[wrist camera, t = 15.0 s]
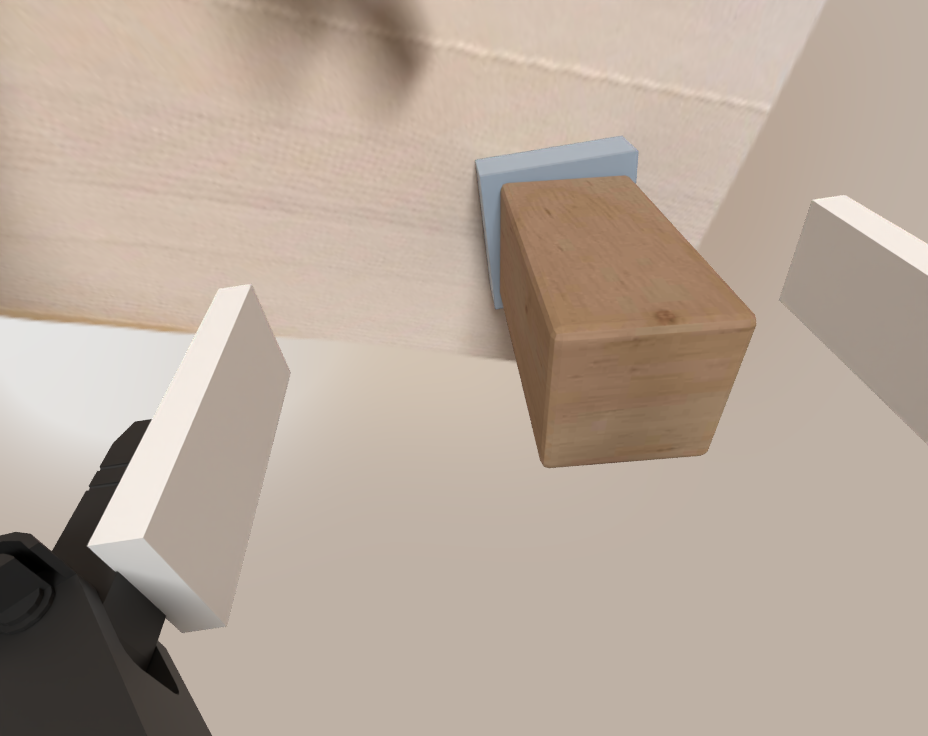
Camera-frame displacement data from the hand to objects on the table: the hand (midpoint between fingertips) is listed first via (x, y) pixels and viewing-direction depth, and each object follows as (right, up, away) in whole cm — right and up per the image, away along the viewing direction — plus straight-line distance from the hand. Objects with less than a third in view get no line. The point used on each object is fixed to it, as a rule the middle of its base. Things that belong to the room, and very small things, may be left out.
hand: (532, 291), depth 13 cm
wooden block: (+6, +9, +30) cm, 32 cm away
